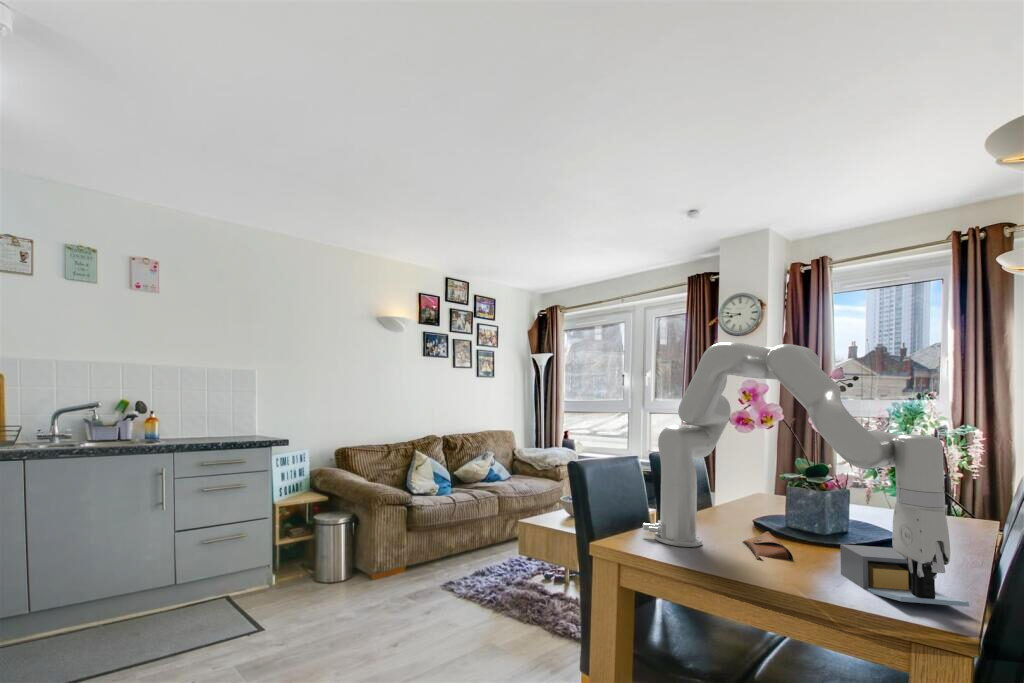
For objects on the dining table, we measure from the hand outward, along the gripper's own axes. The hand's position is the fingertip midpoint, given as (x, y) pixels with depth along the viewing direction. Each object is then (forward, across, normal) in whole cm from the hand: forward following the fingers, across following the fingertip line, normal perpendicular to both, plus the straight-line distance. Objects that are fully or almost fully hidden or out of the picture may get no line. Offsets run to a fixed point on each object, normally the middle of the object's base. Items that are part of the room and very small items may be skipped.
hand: (923, 596), depth 101 cm
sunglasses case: (+4, -36, -16) cm, 40 cm away
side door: (+2, -9, +1) cm, 10 cm away
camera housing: (+3, -14, +1) cm, 15 cm away
